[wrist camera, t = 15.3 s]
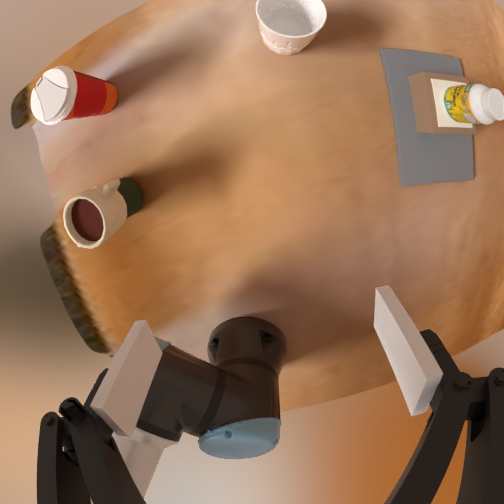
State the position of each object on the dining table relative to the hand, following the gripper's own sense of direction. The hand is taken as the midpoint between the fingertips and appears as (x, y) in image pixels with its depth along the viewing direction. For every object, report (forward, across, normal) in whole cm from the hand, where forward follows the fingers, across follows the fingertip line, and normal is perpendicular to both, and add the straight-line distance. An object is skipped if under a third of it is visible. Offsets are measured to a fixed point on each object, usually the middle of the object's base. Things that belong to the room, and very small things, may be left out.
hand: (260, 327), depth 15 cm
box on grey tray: (+29, -30, -10) cm, 43 cm away
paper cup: (+29, +21, -22) cm, 42 cm away
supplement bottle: (+23, -30, -12) cm, 40 cm away
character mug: (+29, +21, -5) cm, 36 cm away
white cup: (+29, -8, -24) cm, 38 cm away
